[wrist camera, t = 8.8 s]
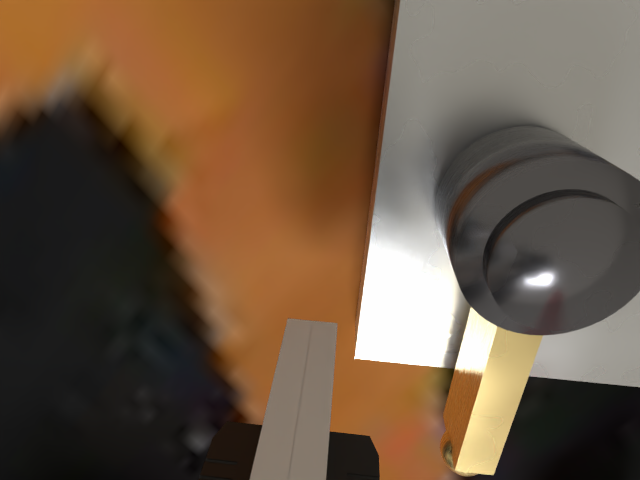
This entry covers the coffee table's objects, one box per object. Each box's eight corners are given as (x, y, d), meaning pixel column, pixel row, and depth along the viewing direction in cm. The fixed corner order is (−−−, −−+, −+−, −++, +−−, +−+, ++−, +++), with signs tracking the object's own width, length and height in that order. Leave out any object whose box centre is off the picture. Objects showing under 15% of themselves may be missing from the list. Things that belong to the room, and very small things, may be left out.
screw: (450, 119, 12) (486, 161, 9) (618, 133, 12) (721, 180, 9) (392, 421, 17) (401, 521, 14) (510, 433, 17) (548, 538, 14)
